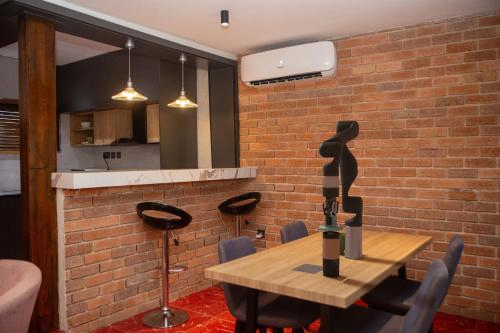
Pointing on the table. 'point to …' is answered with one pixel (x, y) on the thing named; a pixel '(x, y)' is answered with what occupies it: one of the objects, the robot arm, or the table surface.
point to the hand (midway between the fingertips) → (330, 224)
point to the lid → (331, 227)
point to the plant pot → (342, 242)
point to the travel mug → (331, 254)
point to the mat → (308, 268)
